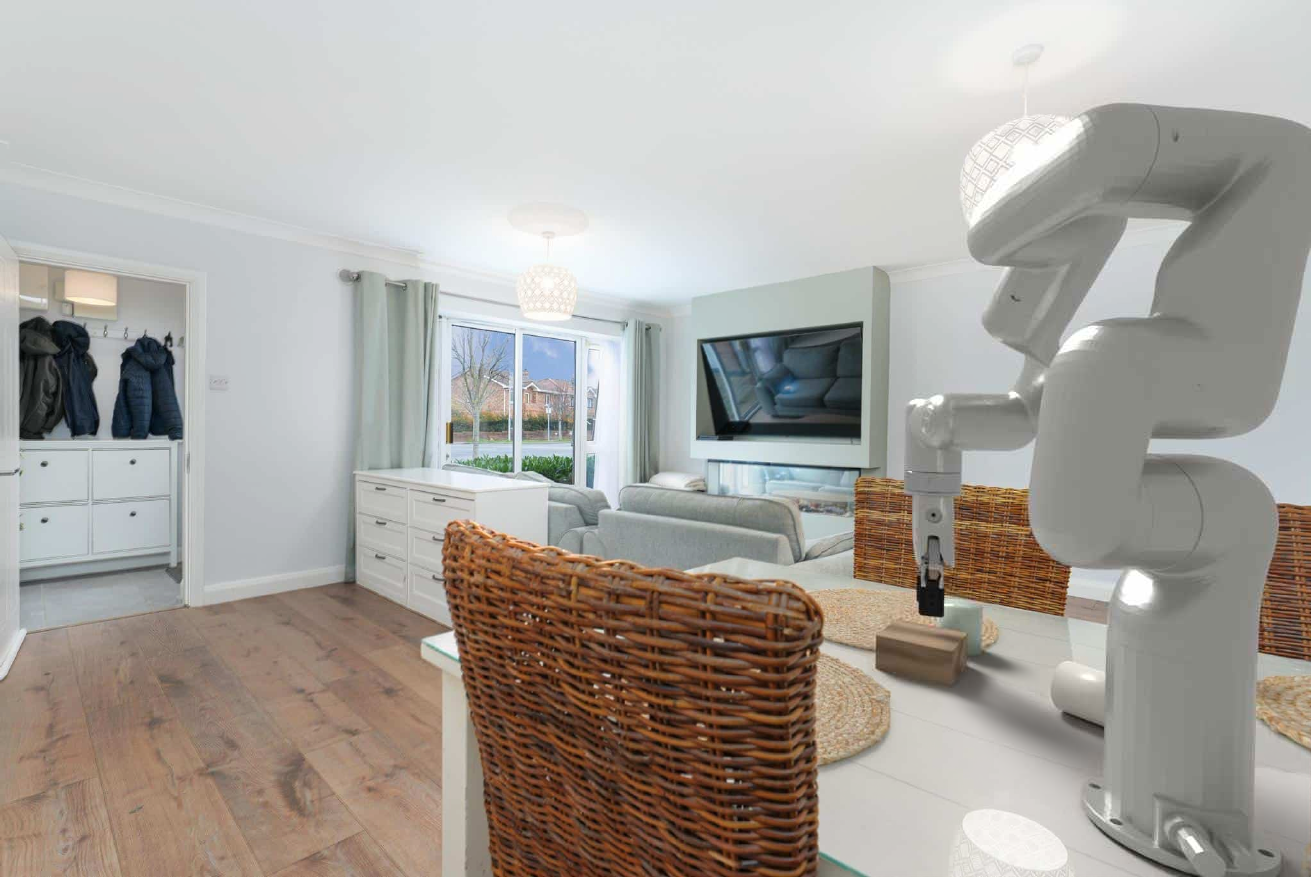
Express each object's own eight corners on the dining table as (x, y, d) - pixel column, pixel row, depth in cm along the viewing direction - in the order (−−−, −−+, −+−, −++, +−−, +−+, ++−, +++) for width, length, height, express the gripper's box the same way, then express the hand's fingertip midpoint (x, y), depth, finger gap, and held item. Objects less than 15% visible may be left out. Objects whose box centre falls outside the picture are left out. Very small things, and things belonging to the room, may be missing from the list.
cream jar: (1051, 716, 72) (1138, 751, 64) (1049, 666, 72) (1136, 694, 64) (1081, 704, 75) (1167, 736, 67) (1079, 655, 75) (1166, 681, 67)
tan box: (951, 689, 80) (952, 651, 80) (875, 669, 86) (876, 635, 86) (966, 667, 88) (967, 633, 88) (896, 650, 94) (896, 619, 94)
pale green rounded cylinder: (984, 658, 91) (985, 612, 91) (937, 652, 93) (938, 607, 93) (978, 644, 97) (979, 601, 97) (935, 639, 99) (936, 597, 99)
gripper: (968, 490, 77) (965, 630, 77) (955, 481, 93) (952, 597, 93) (905, 487, 80) (902, 623, 80) (902, 479, 96) (900, 592, 96)
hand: (929, 608), depth 86 cm, fingers open, 6 cm apart
